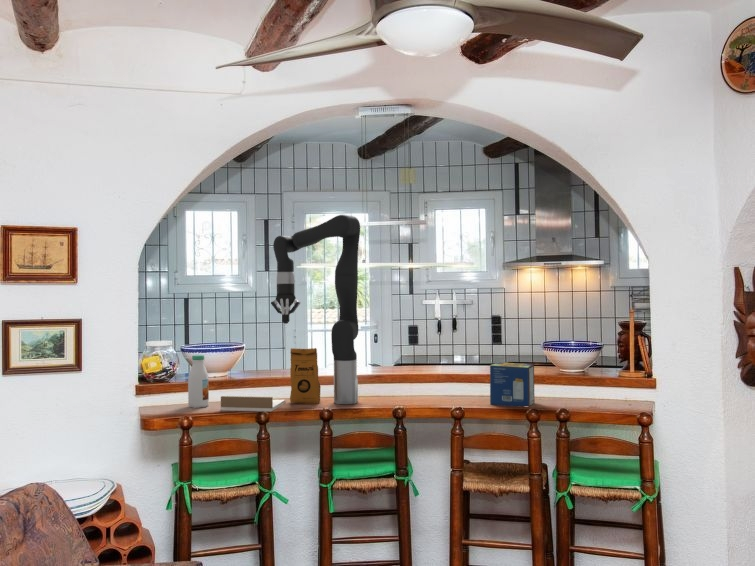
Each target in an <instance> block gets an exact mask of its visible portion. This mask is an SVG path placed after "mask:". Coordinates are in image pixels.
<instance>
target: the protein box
mask: <svg viewBox="0 0 755 566" xmlns="http://www.w3.org/2000/svg"><path fill="white" fill-rule="evenodd" d="M489 381H490V382H489V390H490V392H489V404H490V405H492V404H494V405H495V406H504V405H505V406H504V407H507V406H508V407H517V406H529V407H531V406H532V405H533V404H535V403H536V402H535V364H534V363H516V362H515V363H513V362H498V361H497V362H495V363H492V364H490V365H489ZM530 405H531V406H530Z"/></svg>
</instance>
